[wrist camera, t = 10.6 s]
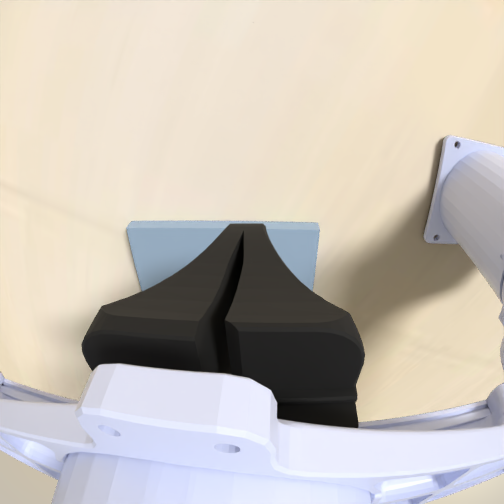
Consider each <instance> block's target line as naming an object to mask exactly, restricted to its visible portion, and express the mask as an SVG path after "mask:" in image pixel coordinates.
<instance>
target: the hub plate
mask: <svg viewBox="0 0 504 504" xmlns="http://www.w3.org/2000/svg"><path fill="white" fill-rule="evenodd" d="M235 223H263V224H264V225H265V226H266V231H267V234H268V236H269V238H270V241H271V243H272V244H273V246H274V248H275V250H276V251H277V253H278V255H279V256H280V258H281V259H282V260H283V262H284V263H285V264H286V266H287V267H288V268H289V269H290V271H291V272H292V273H293V274H294V275H295V276H296V277H297V278H298V279H299V280H300V281H301V282H302V283H303V284H304V285H305V286H307V287H308V288H309V289H310V290H311V291H313V283H314V276H315V267H316V259H317V250H318V241H319V232H320V229H319V225H318V223H307V222H258V221H131V223H130V224H129V225H128V227H127V228H126V229H127V233H128V238H129V242H130V246H131V251H132V255H133V259H134V263H135V267H136V271H137V275H138V278H139V282H140V286H141V290H142V291H144V290H146V289H148V288H150V287H152V286H154V285H156V284H158V283H160V282H161V281H163V280H165V279H166V278H168V277H170V276H172V275H173V274H175V273H176V272H178V271H179V270H181V269H182V268H184V267H185V266H186V265H188V264H189V263H190V262H191V261H193V260H194V259H195V258H196V257H197V256H198V255H200V254H201V253H202V252H203V251H204V250H205V249H206V248H207V247H208V246H209V245H210V244H211V243H212V242H213V241H214V240H215V239H216V238H217V237H218V236H219V235H220V234H221V232H222V231H223V230H224V229H225V228H226V227H227V226H228V225H229V224H235Z"/></svg>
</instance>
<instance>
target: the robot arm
mask: <svg viewBox="0 0 504 504" xmlns="http://www.w3.org/2000/svg"><path fill="white" fill-rule="evenodd" d="M456 141H458V145H457V146H456V147H455V146H454V144H455V142H456ZM435 235H437V237H436V238H434V236H435ZM423 238H424V240H425V241H426V242H427V243H441V244H459V245H460V246H461V248H462V249H463V250H464V251H465V253H466V254H467V255H468V257H469V258H470V259H471V260H472V262H473V263H474V264H475V266H476V267H477V268H478V270H479V271H480V273H481V274H482V275H483V277H484V278H485V279H486V281H487V282H488V284H489V285H490V287H491V288H492V289H493V291H494V292H495V294H496V295H497V297H498V298H499V300H500V301H501V303H502V304H503V307H502V311H501V313H500V315H499V319H500V321H501V323H502V324H503V326H504V147H500V146H496V145H492V144H488V143H484V142H480V141H475V140H471V139H466V138H462V137H457V136H452V135H448V136H446V137H445V138H444V140H443V145H442V152H441V158H440V163H439V169H438V174H437V179H436V184H435V189H434V194H433V198H432V203H431V207H430V211H429V215H428V219H427V223H426V227H425V231H424V235H423ZM82 352H83V355H84V357H85V359H86V361H87V363H88V365H89V367H90V368H91V370H92V372H91V374H90V377H89V379H88V381H87V383H86V386H85V388H84V390H83V393H82V395H81V397H80V400H79V401H76V400H72V399H68V398H65V397H61V396H57V395H54V394H50V393H47V392H44V391H40V390H37V389H34V388H31V387H28V386H25V385H22V384H19V383H16V382H13V381H11V380H8V379H5V378H4V376H3V374H2V373H1V372H0V450H1V451H3V452H5V453H6V454H8V455H10V456H12V457H14V458H15V459H17V460H19V461H21V462H23V463H25V464H26V465H28V466H30V467H33V468H34V469H36V470H38V471H40V472H42V473H44V474H46V475H48V476H50V477H53V478H55V479H57V480H58V483H57V486H56V490H55V493H54V496H53V499H52V503H51V504H424V503H427V502H430V501H433V500H436V499H439V498H442V497H445V496H448V495H451V494H454V493H456V492H459V491H462V490H464V489H467V488H469V487H472V486H474V485H477V484H480V483H482V482H484V481H487V480H489V479H492V478H494V477H496V476H499V475H501V474H503V473H504V383H502V384H500V385H498V386H497V387H496V388H495V389H494V390H493V391H492V392H491V393H490V395H489V396H488V398H487V400H483V401H479V402H475V403H471V404H467V405H463V406H459V407H454V408H450V409H445V410H440V411H435V412H430V413H424V414H419V415H413V416H406V417H400V418H392V419H385V420H376V421H367V422H358V417H357V411H356V404H355V401H356V400H357V390H356V383H357V380H358V378H359V375H360V372H361V369H362V366H363V364H364V357H365V353H364V347H363V344H362V340H361V338H360V335H359V332H358V330H357V328H356V326H355V323H354V321H353V319H352V317H351V315H350V314H349V313H348V312H346V311H344V310H343V309H341V308H339V307H337V306H335V305H333V304H331V303H329V302H328V301H326V300H324V299H323V298H321V297H320V296H318V295H317V294H315V293H314V292H313V291H311V290H310V289H309V288H308V287H307V286H305V285H304V284H303V283H302V282H301V281H300V280H299V279H298V278H297V277H296V276H295V275H294V274H293V273H292V272H291V271H290V269H289V268H288V267H287V266H286V264H285V263H284V262H283V260H282V259H281V258H280V256H279V255H278V253H277V251H276V250H275V248H274V246H273V244H272V243H271V241H270V238H269V236H268V234H267V231H266V226H265V225H264V224H263V223H235V224H229V225H228V226H227V227H226V228H225V229H224V230H223V231H222V232H221V234H220V235H219V236H218V237H217V238H216V239H215V240H214V241H213V242H212V243H211V244H210V245H209V246H208V247H207V248H206V249H205V250H204V251H203V252H202V253H201V254H200V255H198V256H197V257H196V258H195V259H194V260H193V261H191V262H190V263H189V264H188V265H186V266H185V267H184V268H182V269H181V270H179V271H178V272H176V273H175V274H173V275H172V276H170V277H168V278H166V279H165V280H163V281H161V282H160V283H158V284H156V285H154V286H152V287H150V288H148V289H146V290H144V291H142V292H139V293H137V294H135V295H133V296H130V297H127V298H125V299H122V300H119V301H116V302H113V303H110V304H107V305H104V306H102V307H101V308H100V310H99V312H98V313H97V315H96V317H95V318H94V320H93V322H92V324H91V326H90V328H89V330H88V331H87V333H86V335H85V337H84V340H83V342H82ZM500 357H501V363H502V366H503V370H504V338H503V340H502V343H501V348H500Z"/></svg>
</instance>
